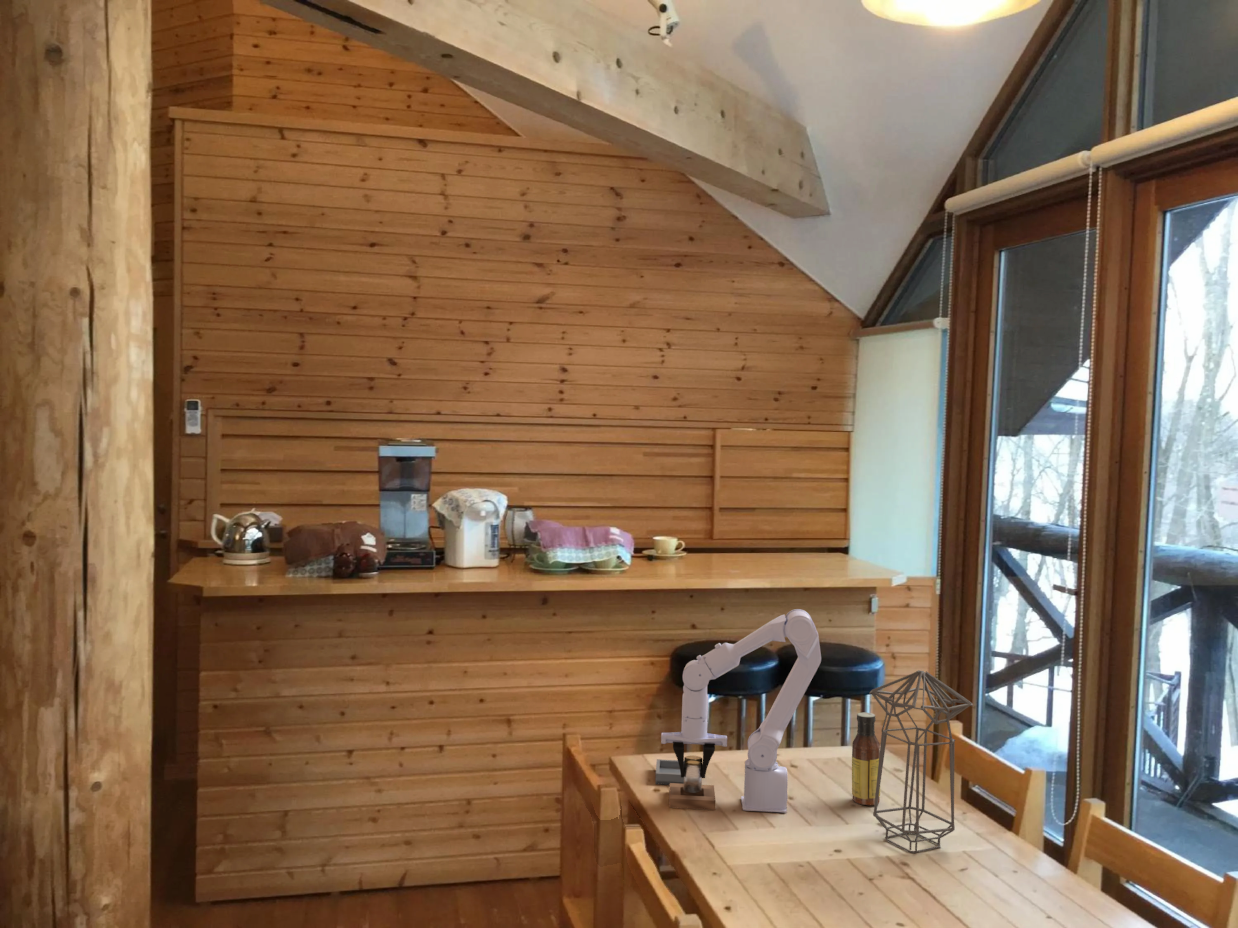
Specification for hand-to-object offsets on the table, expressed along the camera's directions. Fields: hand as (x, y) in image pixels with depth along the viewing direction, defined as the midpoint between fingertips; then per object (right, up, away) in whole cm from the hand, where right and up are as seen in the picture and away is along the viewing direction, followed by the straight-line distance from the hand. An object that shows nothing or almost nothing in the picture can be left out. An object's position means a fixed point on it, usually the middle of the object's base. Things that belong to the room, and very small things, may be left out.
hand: (692, 776), depth 225 cm
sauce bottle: (+39, -7, +3) cm, 40 cm away
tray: (-2, -5, +15) cm, 16 cm away
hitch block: (0, -5, 0) cm, 5 cm away
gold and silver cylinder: (0, -3, 0) cm, 3 cm away
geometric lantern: (+44, -8, -19) cm, 48 cm away
